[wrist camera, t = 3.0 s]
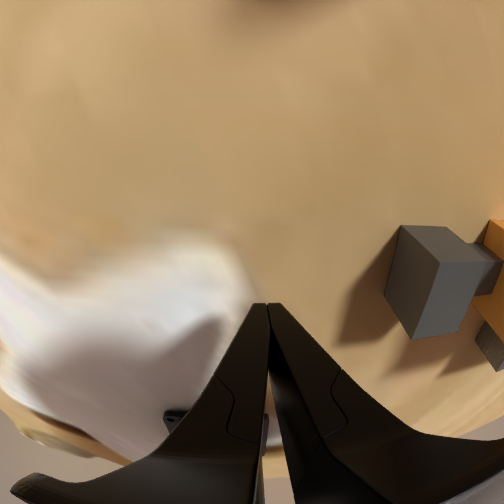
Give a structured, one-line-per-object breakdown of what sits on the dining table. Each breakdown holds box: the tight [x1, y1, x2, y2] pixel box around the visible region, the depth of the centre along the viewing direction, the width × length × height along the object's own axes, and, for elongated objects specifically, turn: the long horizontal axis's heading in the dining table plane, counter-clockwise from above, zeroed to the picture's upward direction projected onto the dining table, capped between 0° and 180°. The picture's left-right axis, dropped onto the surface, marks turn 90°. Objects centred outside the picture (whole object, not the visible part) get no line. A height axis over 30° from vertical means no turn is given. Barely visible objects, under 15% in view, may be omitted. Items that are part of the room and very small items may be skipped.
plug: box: [384, 220, 504, 343], centre depth 10 cm, size 4×10×6 cm, turn 90°
